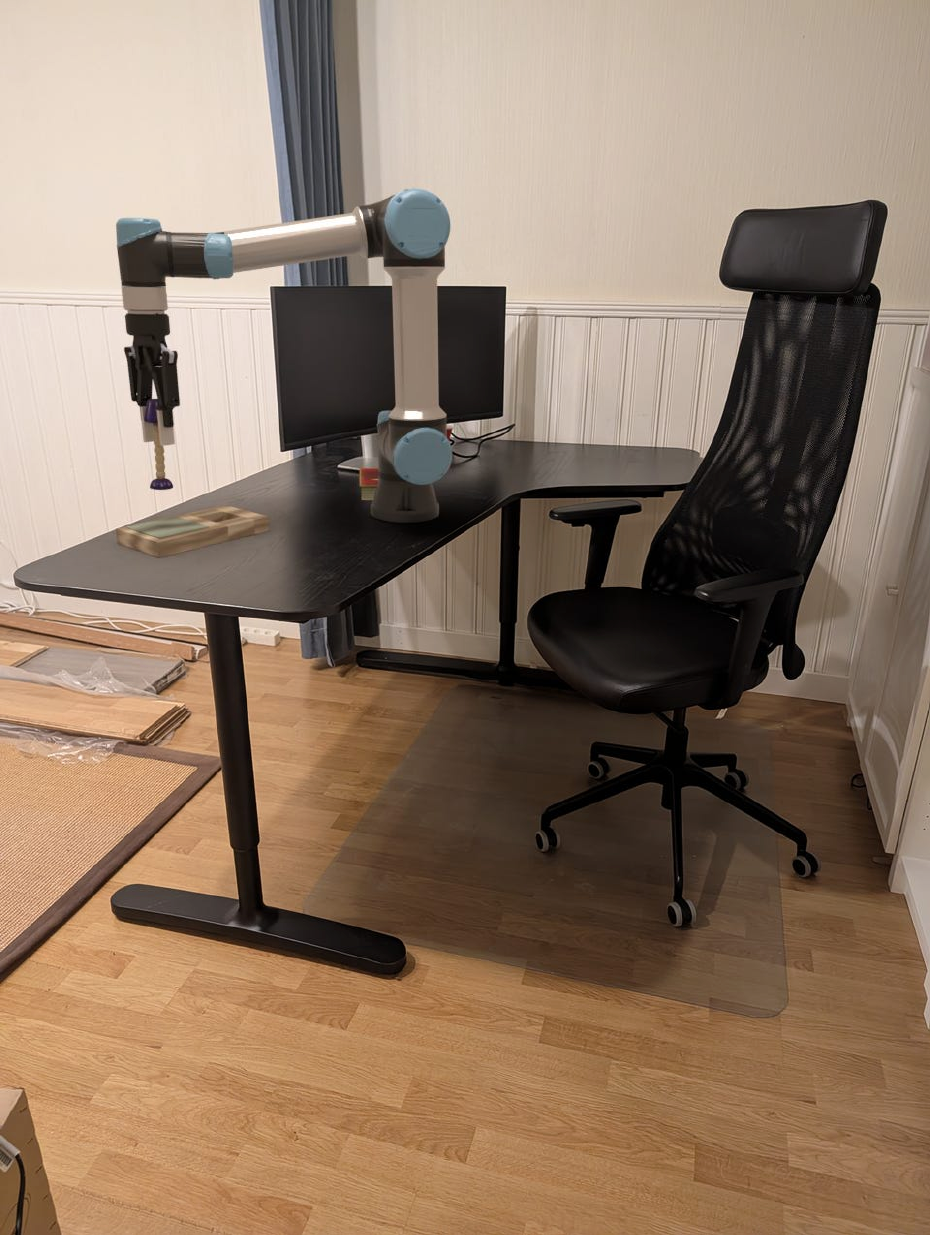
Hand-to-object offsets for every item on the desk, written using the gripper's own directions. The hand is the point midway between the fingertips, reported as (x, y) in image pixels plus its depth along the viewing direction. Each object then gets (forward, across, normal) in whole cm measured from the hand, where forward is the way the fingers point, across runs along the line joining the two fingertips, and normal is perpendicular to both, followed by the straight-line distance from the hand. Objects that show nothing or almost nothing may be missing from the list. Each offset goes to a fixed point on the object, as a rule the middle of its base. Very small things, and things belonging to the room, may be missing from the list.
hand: (159, 442), depth 169 cm
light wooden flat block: (+20, 0, -6) cm, 21 cm away
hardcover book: (+20, +2, -63) cm, 66 cm away
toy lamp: (+9, 0, 0) cm, 9 cm away
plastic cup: (+20, +11, -93) cm, 96 cm away
